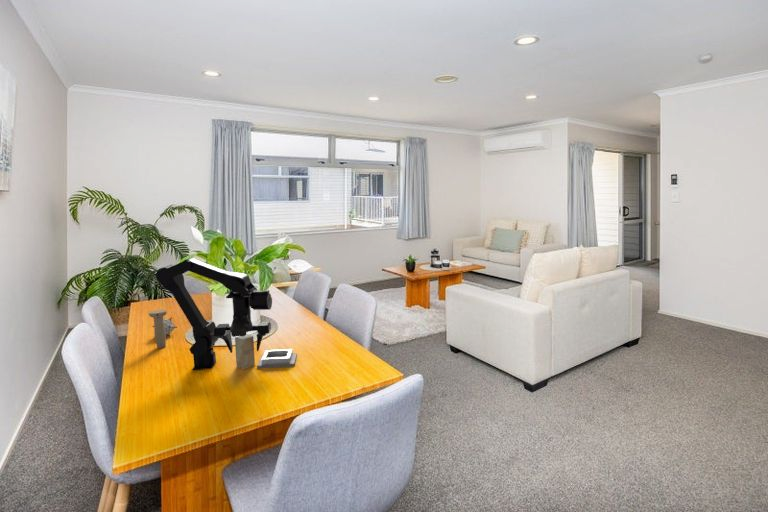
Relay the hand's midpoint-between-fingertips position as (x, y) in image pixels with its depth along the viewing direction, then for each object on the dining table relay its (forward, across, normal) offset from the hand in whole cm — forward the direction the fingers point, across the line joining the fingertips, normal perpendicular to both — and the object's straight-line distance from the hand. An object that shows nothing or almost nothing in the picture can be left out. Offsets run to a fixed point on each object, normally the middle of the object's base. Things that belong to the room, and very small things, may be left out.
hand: (244, 351), depth 152 cm
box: (+6, 0, 0) cm, 6 cm away
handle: (+6, -39, +25) cm, 47 cm away
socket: (+5, +11, +2) cm, 12 cm away
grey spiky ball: (+6, -43, +40) cm, 59 cm away
